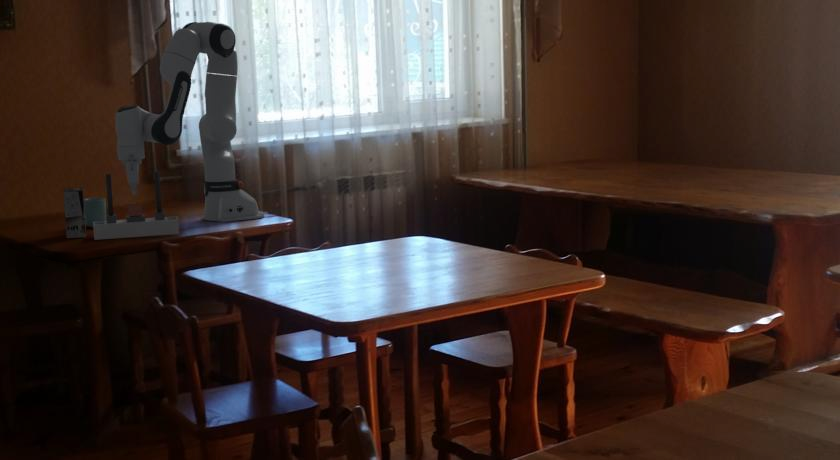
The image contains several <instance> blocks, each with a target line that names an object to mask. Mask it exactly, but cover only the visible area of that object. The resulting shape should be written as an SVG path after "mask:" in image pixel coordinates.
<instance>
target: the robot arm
mask: <svg viewBox="0 0 840 460" xmlns="http://www.w3.org/2000/svg"><path fill="white" fill-rule="evenodd" d="M235 47H236V34H235V30H234V29H233V28H232V27H231V26H229V25H227V24H225V23H217V22H211V21H205V22H203V21H201V22H200V21H199V22H197V21H192V22H189V23H186V24H185V25H183V27H182V28H179V29H177V30H176V31H175V32H174V33H173V34H172V36H171V38H170V40H169V42H168V44H167V46H166V48H165V50H164V53H163V54H162V58H161V61H160V64H159V72H160V75H161V77H162V78H163V79H164V80H165V81H166V82H167V83H168V84H169V86H170V90H169V91H170V92H169V95H168V98H167V102H166V105H165V109H164V110H163V112H162V113H159V114H157V113H152V112H149V111H147V110H145V109H143V108H141V107H140V106H139V105H136V104H130V105H125V106H121V107H119V108H118V109H117V111H116V114H115V134H116V136H117V144H116V148H117V149H116V150H117V159H118V160H119V161H122V163H121V164H122V165H123V166H124V167H125V172H126V178H127V179H126V181H127V185H129V186H130V192H131V195H132V196H136V195H137V194H138V191H137V190H138V189H137V187H138V185H139V184H140V177H139V169H140V165H141V164H142V160H144V159H145V158H146V155H145V142H151V143H156V144H157V143H158V144H161V145H164V146H165V145H166V146H171V145H174V144H175V143H176V142H178V140H179V139H180V138H181V135H182V133H183V118H184V114H185V111H186V106H187V102H188V99H189V95H190V91H191V87H192V75H193V71H194V69H195V64H196V62H197V60H198V56H199V54H206V56H207V66H206V75H205V85H204V86H205V88H204V99H205V114H204V115H202V117H200V119H199V122H198V130H199V132H198V133H199V137H200V144H201V145H200V147H201V151H202V156H203V169H204V170H203V171H204V180H203V193H204V197H205V200H204V211H203V216H202V219H203V220H204V221H205V220H206V221H211V222H212V221H213V222H221V223H222V222H223V223H225V222H226V223H228V222H234V221H235V222H237V221H245V220H256V219H263V218H264V217H265V213H264V211H262V210H259V207H258V203H257V201H256V199H255V198H254V196H252V195H250V194H249V193H247V192H246V191H245V190H243V189H242V188H243V187H244V183H243V181H240V180H238V179H236V167H235V155H234V153H233V148H232V142H231V141H232V140H234V138H235V137H236V135H237V129H238V128H237V105H236V96H237V95H236V94H237V82H238V67H239V66H238V55H237V50H236V48H235Z"/></svg>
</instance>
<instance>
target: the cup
mask: <svg viewBox="0 0 840 460" xmlns="http://www.w3.org/2000/svg"><path fill="white" fill-rule="evenodd" d="M106 201H107V200H106V198H105V197H88V198H84V209H85V223H86V226H87V227H89V228H93V223H94V222H98V221H107V203H106Z"/></svg>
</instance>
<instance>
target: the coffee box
mask: <svg viewBox="0 0 840 460" xmlns="http://www.w3.org/2000/svg"><path fill="white" fill-rule="evenodd" d="M62 194H63V195H62V196H63V205H64V206H63V208H64V217H65V231H66V238H67V239H75V238H86V236H87V227H86V226H87V224H86V222H85V209H84V199H85V198H84V190H83V187H73V188H72V187H71V188H64V189H63V191H62Z"/></svg>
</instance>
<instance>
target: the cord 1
mask: <svg viewBox="0 0 840 460" xmlns="http://www.w3.org/2000/svg"><path fill="white" fill-rule="evenodd" d="M105 185H106V197H107V210H108V214H106V221H107V224H108V223H116V220H117V214H116V213H114V203H113V200H114V199H113V190H112V189H113V188H112V175H111V174H110V173H107V174H105Z"/></svg>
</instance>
